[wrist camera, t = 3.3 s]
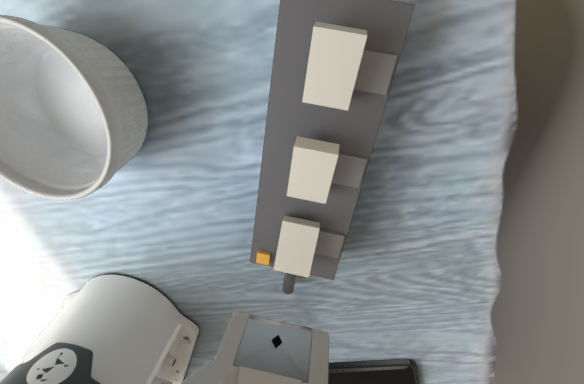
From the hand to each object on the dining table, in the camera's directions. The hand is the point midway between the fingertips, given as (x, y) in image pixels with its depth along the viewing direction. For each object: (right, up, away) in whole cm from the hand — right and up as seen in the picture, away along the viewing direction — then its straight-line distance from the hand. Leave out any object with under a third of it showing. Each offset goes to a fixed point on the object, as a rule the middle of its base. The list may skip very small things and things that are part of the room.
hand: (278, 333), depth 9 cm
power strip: (+2, +6, +18) cm, 19 cm away
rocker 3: (+1, 0, +16) cm, 16 cm away
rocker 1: (+3, +12, +9) cm, 16 cm away
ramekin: (-18, +13, +18) cm, 29 cm away
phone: (+10, -21, +31) cm, 39 cm away
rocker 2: (+2, +6, +12) cm, 14 cm away
